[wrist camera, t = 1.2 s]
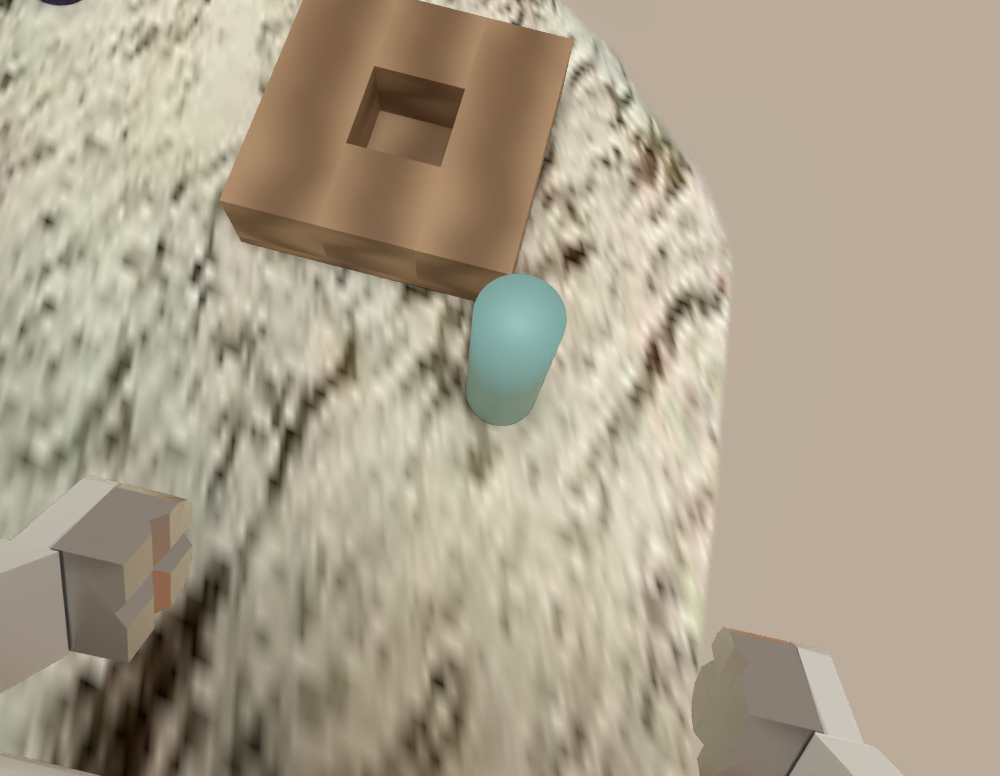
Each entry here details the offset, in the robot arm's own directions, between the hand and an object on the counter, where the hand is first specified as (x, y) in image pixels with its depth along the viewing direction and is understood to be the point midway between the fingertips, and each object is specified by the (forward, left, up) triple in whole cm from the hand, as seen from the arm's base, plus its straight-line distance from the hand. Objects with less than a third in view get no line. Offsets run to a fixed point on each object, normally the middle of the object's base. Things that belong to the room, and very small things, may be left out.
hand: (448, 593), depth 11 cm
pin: (0, +12, -28) cm, 31 cm away
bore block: (-9, +25, -28) cm, 39 cm away
